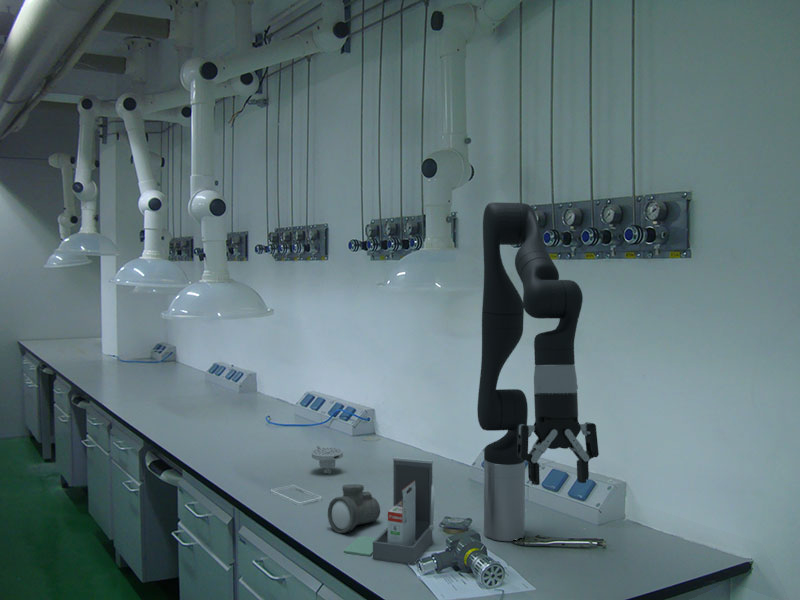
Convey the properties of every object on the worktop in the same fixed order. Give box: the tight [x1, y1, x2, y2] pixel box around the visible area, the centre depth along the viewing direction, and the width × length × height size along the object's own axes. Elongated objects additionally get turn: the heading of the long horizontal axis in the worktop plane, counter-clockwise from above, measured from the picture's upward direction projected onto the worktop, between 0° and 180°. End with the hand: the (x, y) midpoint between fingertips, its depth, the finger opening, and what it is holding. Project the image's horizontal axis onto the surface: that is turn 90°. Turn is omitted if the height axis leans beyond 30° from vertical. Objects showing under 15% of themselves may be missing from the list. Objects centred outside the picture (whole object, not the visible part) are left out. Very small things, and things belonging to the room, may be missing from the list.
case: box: [372, 456, 436, 565], centre depth 146 cm, size 14×10×18 cm
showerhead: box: [311, 445, 344, 474], centre depth 206 cm, size 9×7×10 cm
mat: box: [343, 535, 377, 557], centre depth 148 cm, size 9×6×1 cm, turn 161°
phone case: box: [270, 484, 323, 507], centre depth 183 cm, size 7×1×15 cm
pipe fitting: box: [327, 483, 381, 534], centre depth 161 cm, size 12×8×10 cm, turn 137°
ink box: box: [387, 480, 416, 546], centre depth 145 cm, size 4×8×15 cm, turn 158°
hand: (558, 483), depth 119 cm, fingers open, 8 cm apart
